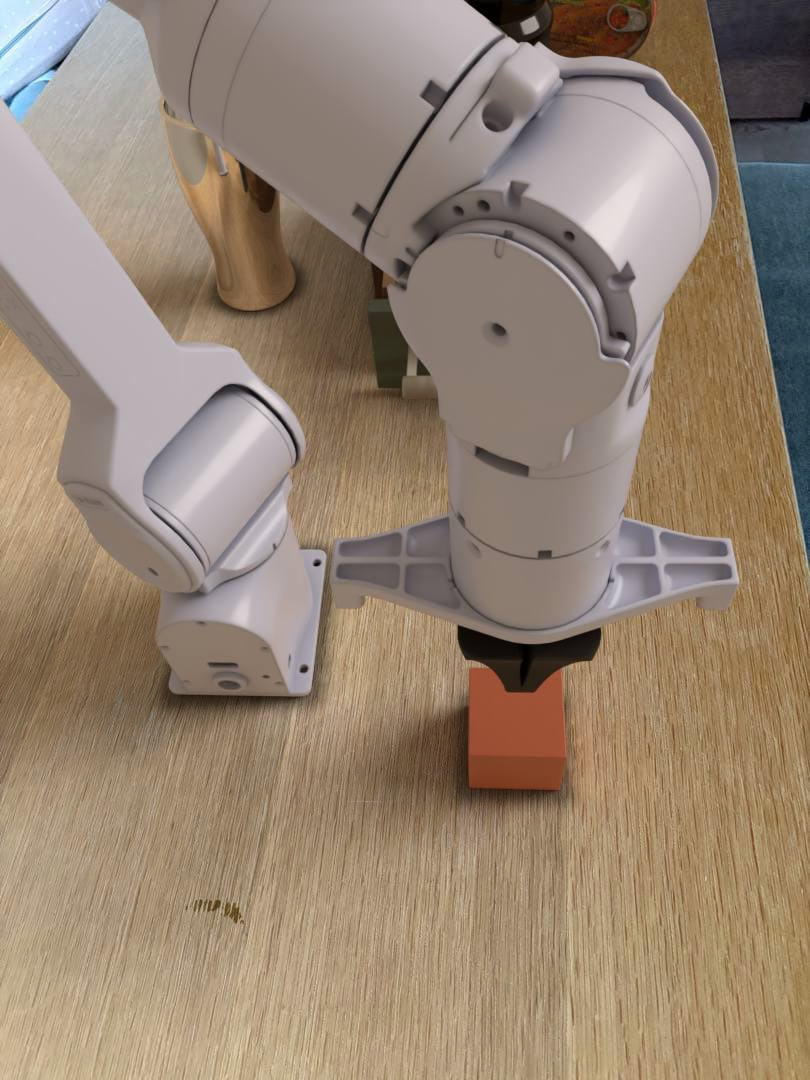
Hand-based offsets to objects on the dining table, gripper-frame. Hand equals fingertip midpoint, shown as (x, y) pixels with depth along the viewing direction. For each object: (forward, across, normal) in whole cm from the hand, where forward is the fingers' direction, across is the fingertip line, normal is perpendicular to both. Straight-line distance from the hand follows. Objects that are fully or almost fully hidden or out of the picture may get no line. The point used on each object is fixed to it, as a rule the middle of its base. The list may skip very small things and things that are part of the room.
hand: (519, 672), depth 40 cm
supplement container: (+9, +1, -60) cm, 60 cm away
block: (+8, 0, 0) cm, 8 cm away
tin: (+9, -7, -70) cm, 71 cm away
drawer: (+8, +3, -29) cm, 30 cm away
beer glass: (+9, +19, -37) cm, 42 cm away
